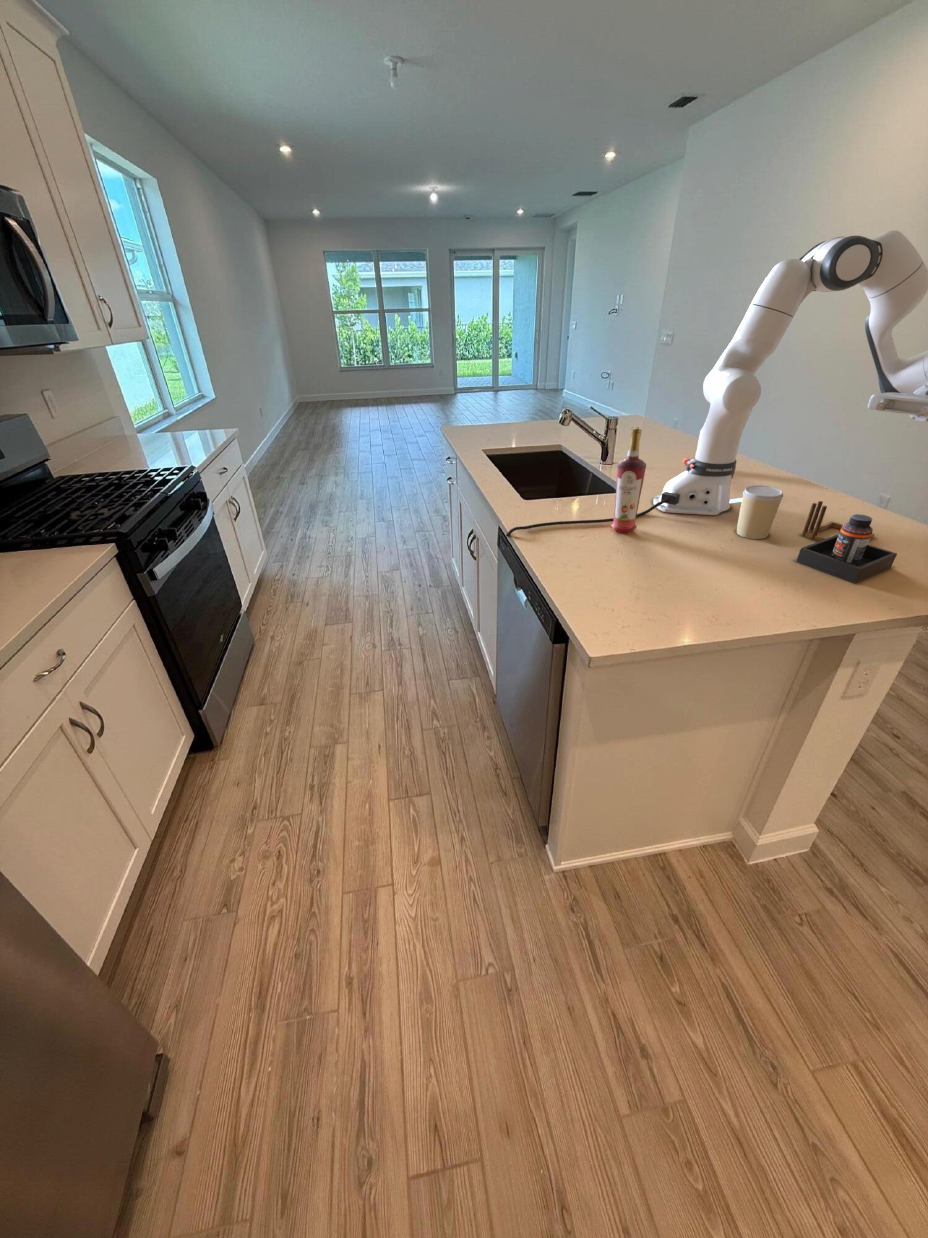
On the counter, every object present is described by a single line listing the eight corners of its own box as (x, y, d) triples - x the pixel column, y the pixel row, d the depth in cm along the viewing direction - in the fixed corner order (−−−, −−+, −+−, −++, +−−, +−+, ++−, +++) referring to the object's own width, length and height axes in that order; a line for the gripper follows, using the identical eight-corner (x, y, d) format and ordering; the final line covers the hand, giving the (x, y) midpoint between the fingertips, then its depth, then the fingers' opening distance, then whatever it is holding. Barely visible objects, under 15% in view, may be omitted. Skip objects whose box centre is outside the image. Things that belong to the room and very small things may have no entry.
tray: (855, 583, 113) (861, 569, 111) (796, 561, 123) (800, 548, 121) (891, 567, 119) (897, 553, 117) (831, 547, 129) (836, 534, 127)
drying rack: (843, 549, 128) (857, 515, 123) (800, 535, 136) (811, 503, 131) (873, 538, 133) (887, 505, 128) (830, 525, 141) (841, 493, 136)
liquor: (638, 527, 146) (653, 425, 131) (634, 536, 140) (649, 431, 125) (612, 524, 149) (624, 424, 134) (607, 533, 143) (619, 430, 128)
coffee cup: (768, 528, 141) (780, 486, 135) (773, 541, 134) (787, 497, 127) (731, 525, 144) (741, 484, 137) (734, 538, 136) (745, 495, 130)
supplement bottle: (823, 557, 123) (839, 513, 117) (846, 555, 123) (864, 511, 117) (841, 568, 118) (859, 522, 112) (865, 566, 118) (884, 520, 112)
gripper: (890, 384, 134) (860, 390, 129) (987, 393, 118) (957, 400, 113) (880, 409, 137) (851, 416, 132) (973, 421, 122) (944, 429, 117)
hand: (900, 409), depth 123 cm, fingers open, 8 cm apart
